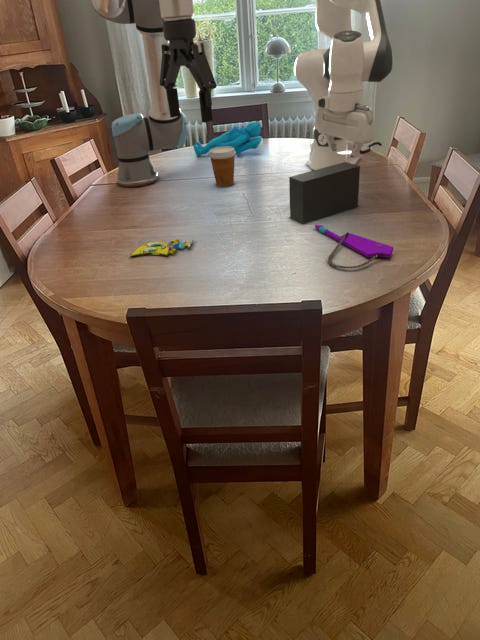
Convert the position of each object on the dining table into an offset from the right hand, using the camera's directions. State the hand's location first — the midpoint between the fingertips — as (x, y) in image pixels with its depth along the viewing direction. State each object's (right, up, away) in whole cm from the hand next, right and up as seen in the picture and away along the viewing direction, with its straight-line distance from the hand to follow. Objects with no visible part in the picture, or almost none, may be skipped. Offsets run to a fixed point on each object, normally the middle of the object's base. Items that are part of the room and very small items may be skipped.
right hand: (343, 154), depth 137 cm
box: (-4, -15, +5) cm, 17 cm away
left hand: (-42, +3, -17) cm, 45 cm away
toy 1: (-50, -28, -8) cm, 58 cm away
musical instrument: (-4, -30, -17) cm, 35 cm away
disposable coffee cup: (-35, +1, +36) cm, 50 cm away
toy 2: (-34, +25, +71) cm, 83 cm away
